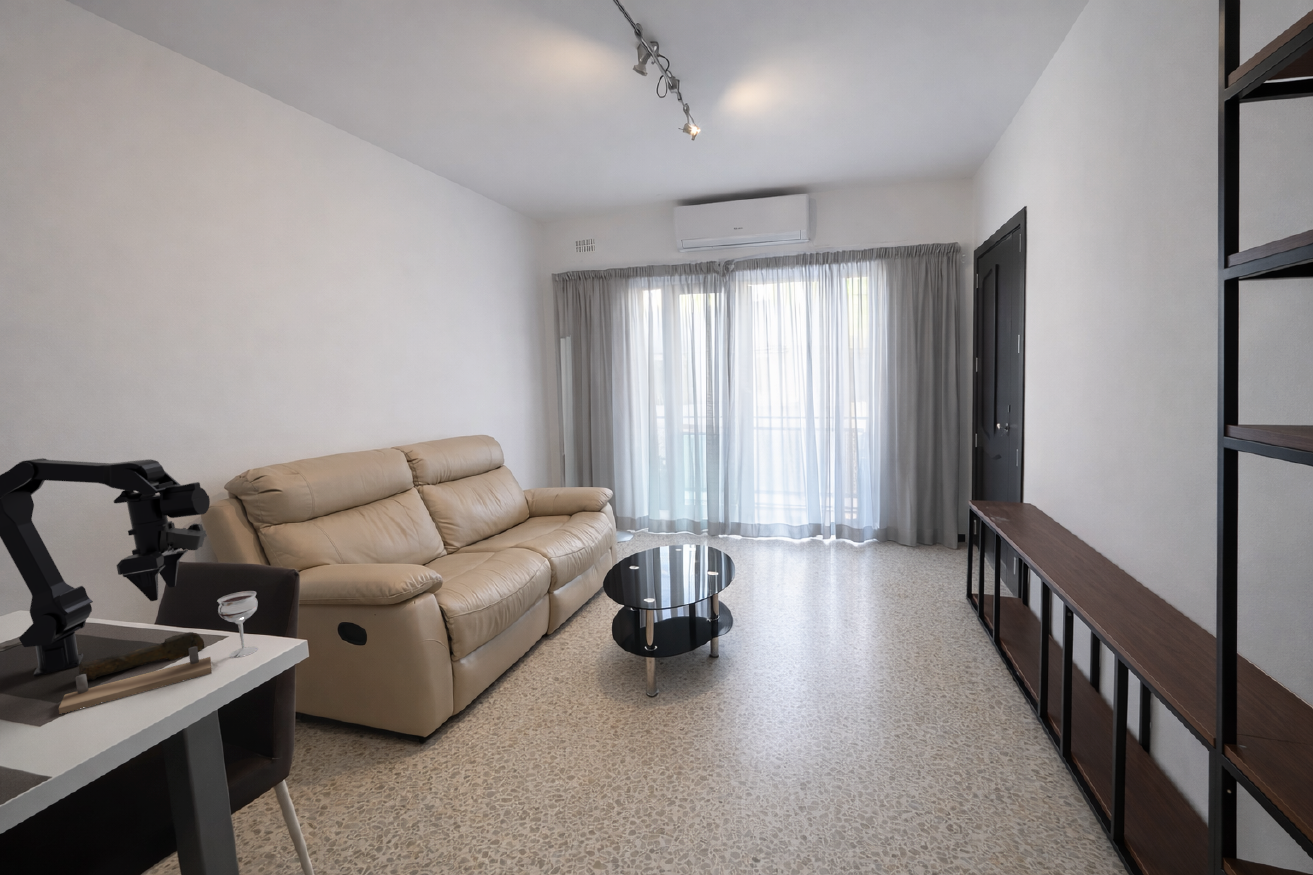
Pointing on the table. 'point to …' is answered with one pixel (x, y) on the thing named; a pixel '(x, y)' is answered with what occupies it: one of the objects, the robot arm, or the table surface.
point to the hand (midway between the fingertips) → (163, 593)
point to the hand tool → (142, 655)
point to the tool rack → (134, 683)
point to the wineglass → (239, 615)
